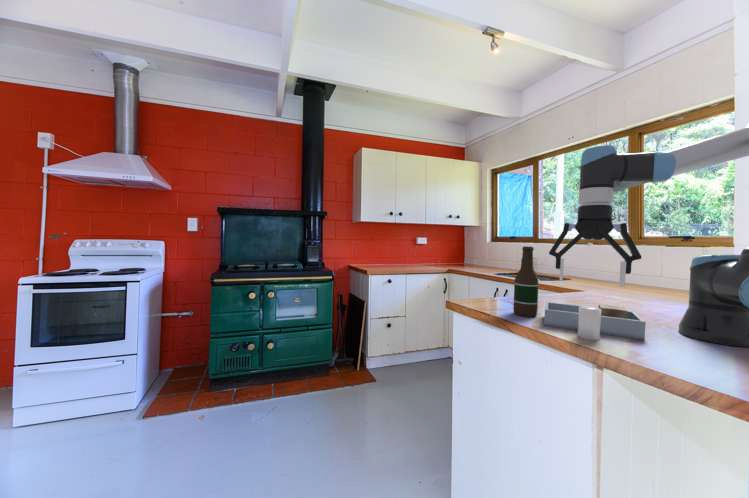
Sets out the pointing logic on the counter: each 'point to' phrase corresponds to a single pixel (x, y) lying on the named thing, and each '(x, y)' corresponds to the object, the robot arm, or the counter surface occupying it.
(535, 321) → the counter surface
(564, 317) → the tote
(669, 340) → the counter surface
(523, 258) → the beer bottle
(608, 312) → the walnut cube
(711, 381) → the counter surface
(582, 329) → the ceramic canister
